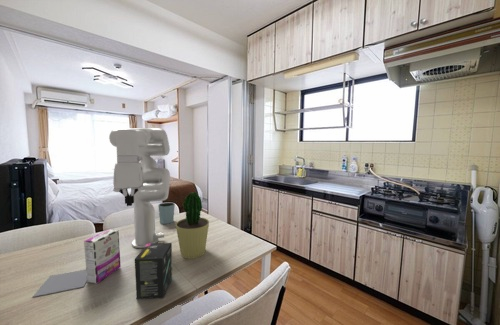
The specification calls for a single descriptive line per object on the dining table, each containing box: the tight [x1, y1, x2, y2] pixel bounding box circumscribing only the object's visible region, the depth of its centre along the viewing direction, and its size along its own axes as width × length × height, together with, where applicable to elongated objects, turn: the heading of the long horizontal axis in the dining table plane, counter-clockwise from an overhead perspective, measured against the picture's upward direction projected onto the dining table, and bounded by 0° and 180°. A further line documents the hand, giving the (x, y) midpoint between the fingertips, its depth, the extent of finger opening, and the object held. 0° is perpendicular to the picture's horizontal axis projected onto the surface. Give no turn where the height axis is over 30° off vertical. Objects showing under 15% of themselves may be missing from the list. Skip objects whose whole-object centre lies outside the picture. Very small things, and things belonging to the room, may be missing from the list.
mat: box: [32, 269, 88, 298], centre depth 78 cm, size 14×12×1 cm
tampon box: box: [134, 242, 173, 300], centre depth 75 cm, size 11×9×15 cm
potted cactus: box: [175, 191, 210, 259], centre depth 100 cm, size 15×15×30 cm
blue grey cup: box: [157, 201, 176, 225], centre depth 139 cm, size 10×10×12 cm
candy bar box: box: [83, 228, 121, 284], centre depth 82 cm, size 11×5×16 cm, turn 168°
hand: (129, 205), depth 84 cm, fingers closed
